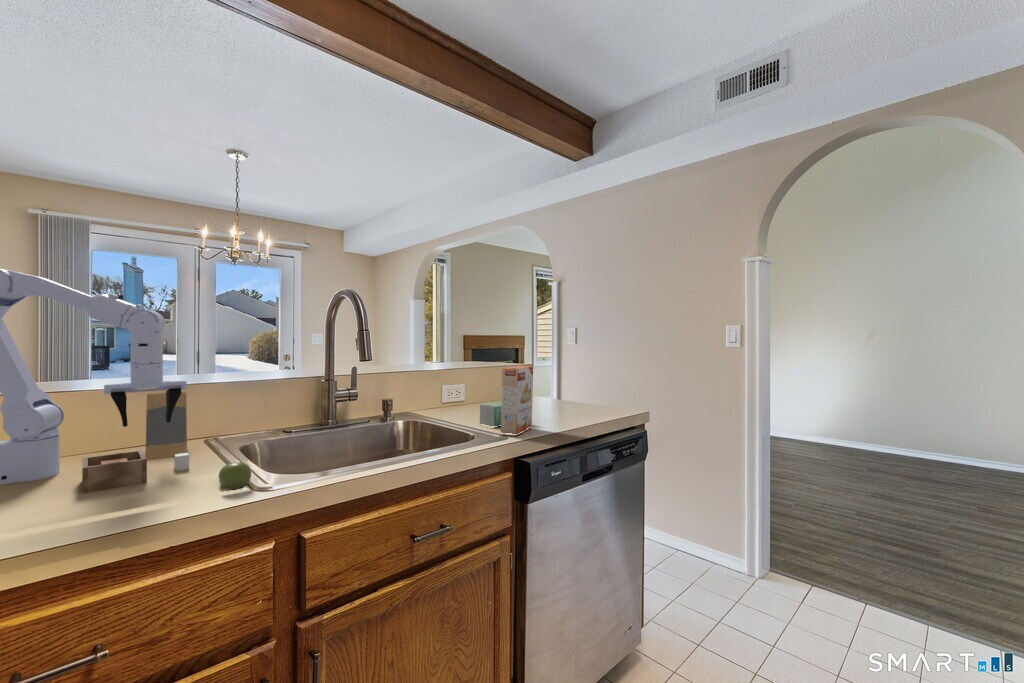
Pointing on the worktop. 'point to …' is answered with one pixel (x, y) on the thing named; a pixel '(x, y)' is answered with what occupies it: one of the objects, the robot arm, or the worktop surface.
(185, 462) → the lid
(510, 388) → the cracker box
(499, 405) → the box
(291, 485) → the worktop surface
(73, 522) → the worktop surface
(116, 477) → the walnut box
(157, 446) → the sandwich container
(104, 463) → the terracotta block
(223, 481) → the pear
